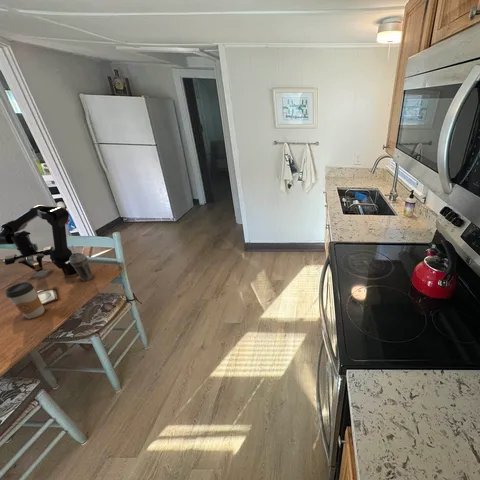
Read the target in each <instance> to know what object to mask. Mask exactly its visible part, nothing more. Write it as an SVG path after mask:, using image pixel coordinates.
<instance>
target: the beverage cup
mask: <svg viewBox="0 0 480 480" xmlns="http://www.w3.org/2000/svg"><path fill="white" fill-rule="evenodd" d="M71 248H72V250H73V254H72V255H71V256H70V258H69V260H68V261H69V262H70V264H71V265H72V266H73V267H74V269H75V270H76V272H77V275H78V277H79V278H80V279H81V280H82V281H83V282H87V281H90V280H92V279H93V278H94V275H93V272H92V270H91V267H90V264H89V261H88V257H87V256H86V254H84V253H81V252H77V251H76V249H75V247H74V245H73V244H72V245H71Z"/></svg>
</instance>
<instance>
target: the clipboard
mask: <svg viewBox="0 0 480 480" xmlns="http://www.w3.org/2000/svg"><path fill="white" fill-rule="evenodd" d="M36 293H37V295H38V297H39V299H40V301H41V303H42V305H43V306H45V305H47V304H51V303H53V302H56V301H58V300H59V299H58V295H57V292H56V289H55V288H53V289H48V290H44V289H41V290H37V291H36Z"/></svg>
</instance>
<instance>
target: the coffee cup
mask: <svg viewBox="0 0 480 480" xmlns="http://www.w3.org/2000/svg"><path fill="white" fill-rule="evenodd" d="M36 292H37V291H36V290H35V286H34V285H33V284H32V283H30V282H28V281H25V282H19V283H16V284H13V285H11V286H10V287H8V288H6V290H5V296H6V298H8V299H9V300H10V301H11V302H12V304H13V305H14V306H15V308H17V310H18V311H19V312H20V313H21V314H22V315H23V316H24V317H25V319H30V320H31V319H34V318H35V319H36V318H37V317H40V316H41V315H43V314H44V313H45V307H44V305H42V303H41V301H40V299H39V297H38V295H37V293H36Z"/></svg>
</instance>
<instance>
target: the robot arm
mask: <svg viewBox="0 0 480 480" xmlns="http://www.w3.org/2000/svg"><path fill="white" fill-rule="evenodd" d="M69 216H70V212H69V211H68V210H67V209H66V208H64V207H62V206H55V205H54V206H53V205H51V206H50V205H42V204H38V205H35V206H32V207H31V208H29V210H27V211H26V212H24V213H22V214H21V215H20V216H18V217H16V218H15V219H12V220H9V221H6V222H4V223H2V224H1V225H0V228H1V229H0V246H1V245H4V246H5V245H15V247H16V250H17V251H18V252H19V255H18V254H16V253H14V254H11V255H6V256H5V258H4V259H3V264H4V265H5V266H8V265H9V266H10V265H12V264H15V263H16V261H17V263H18V264H22V265H25V266H27V267H29V268H30V269H32V270H33V271H35V268H34V267H33V264H34V263H33V262H31V260H30V259H29V258H30V257H35V256H36V257H35V260H36V263H38V264H39V266H40V267H41V268H43V258H45V256H46V257H47V256H49V260H51V262H52V263H53V264H54V266H56V267H57V268H58V269H60V270H61V271H62V273H63V274H64V276H74V275H76V276H78V277H79V275H78V273H77V272H76V270H75V269H74V267H73V266H72V265H71V264H70V262H69V258H70V256H71V255H72V254H74V252H72V249H70V248H69V247H68V240H67V229H66V228H67V227H66V224H67V222H68V220H69V218H70V217H69ZM37 217H38V218H39V219H40V220H45V221H46V222H47V223H48V224H49V225H50V226H51V231H52V239H53V246H46V247H42V250H39V247H38V244H37V243H33V242H32V241H31V240H30V237H29V235H31V232H30V231H27V230H24V229H26V227H27V226H28V224H29V223H30V222H32V221H33V220H35V219H36V218H37Z"/></svg>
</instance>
